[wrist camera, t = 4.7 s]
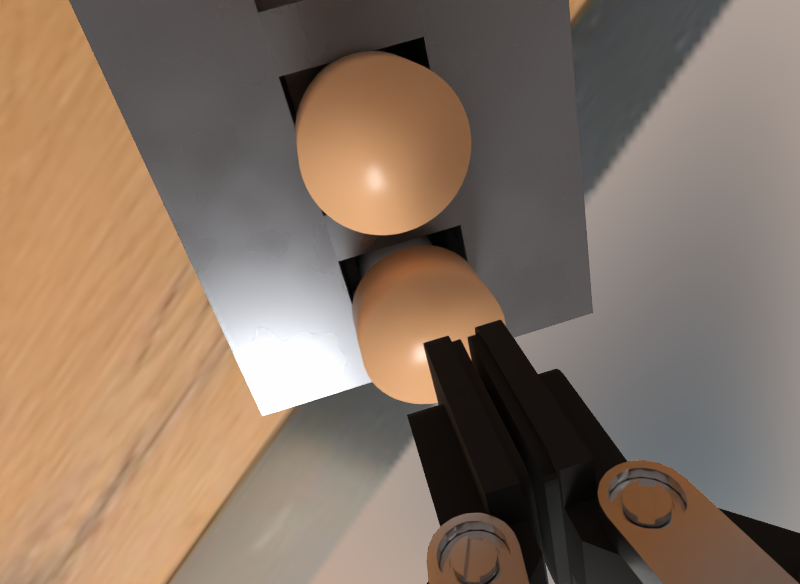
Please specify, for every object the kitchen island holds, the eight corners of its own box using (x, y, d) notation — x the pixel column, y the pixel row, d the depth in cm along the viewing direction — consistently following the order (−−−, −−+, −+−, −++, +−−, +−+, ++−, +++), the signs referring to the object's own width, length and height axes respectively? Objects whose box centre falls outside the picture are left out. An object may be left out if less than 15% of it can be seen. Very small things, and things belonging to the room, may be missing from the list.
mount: (448, -208, 17) (543, -324, 11) (513, 235, 24) (592, 312, 18) (90, -118, 17) (-19, -188, 10) (266, 309, 24) (262, 416, 18)
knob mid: (389, 24, 18) (454, 36, 11) (415, 140, 20) (483, 208, 13) (274, 55, 18) (271, 87, 11) (311, 170, 20) (327, 255, 13)
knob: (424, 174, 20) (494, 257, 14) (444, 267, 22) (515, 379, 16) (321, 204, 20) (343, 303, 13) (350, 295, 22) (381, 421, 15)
